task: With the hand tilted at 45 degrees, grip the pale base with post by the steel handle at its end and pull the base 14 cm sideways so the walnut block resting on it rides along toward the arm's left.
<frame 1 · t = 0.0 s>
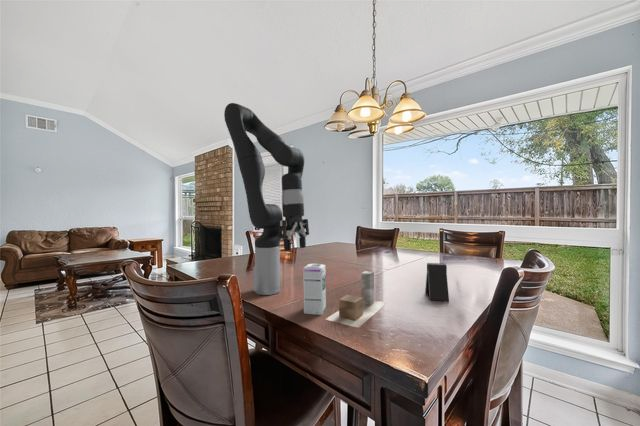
hand: (295, 249, 95), 17 cm above the table, tool pointing down, fingers open, 8 cm apart
door stopper: (436, 297, 96), on the table
syrup box: (315, 314, 81), on the table
walnut block: (351, 315, 77), point 1 cm above the table, touching pale base with post
pale base with post: (358, 295, 81), point 6 cm above the table, slide at 0.0 cm, touching walnut block
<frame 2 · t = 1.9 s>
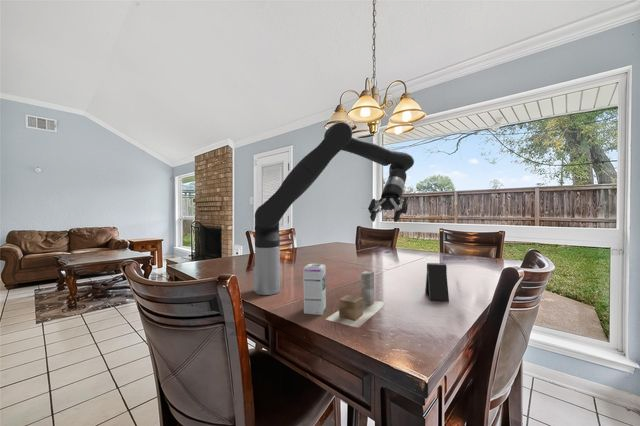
hand: (383, 220, 98), 27 cm above the table, tool tilted 45°, fingers open, 8 cm apart
nothing on the table moved.
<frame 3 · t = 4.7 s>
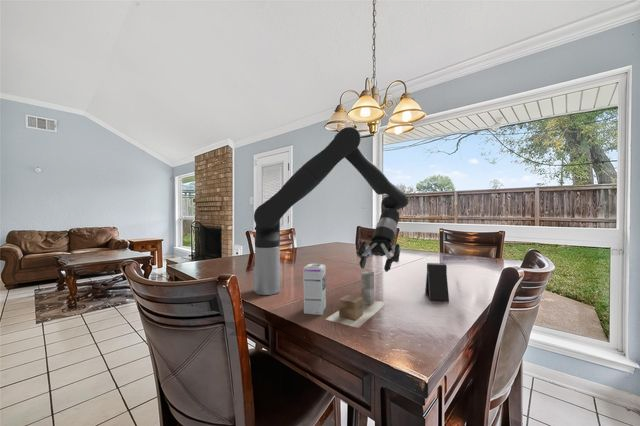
hand: (373, 268, 91), 11 cm above the table, tool tilted 45°, fingers open, 8 cm apart
nothing on the table moved.
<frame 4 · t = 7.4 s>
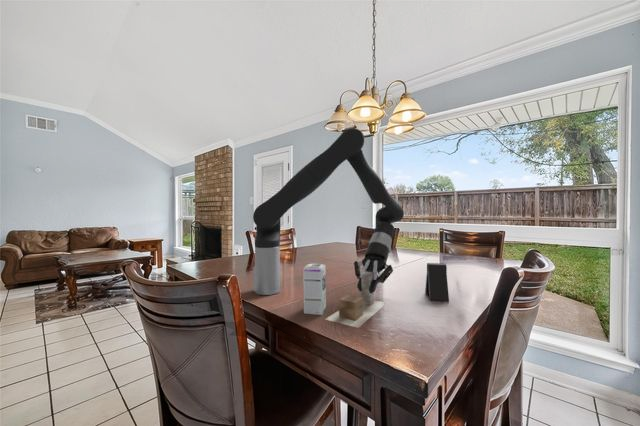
hand: (365, 291, 85), 5 cm above the table, tool tilted 45°, fingers closed on pale base with post, 3 cm apart
pale base with post: (358, 295, 81), point 6 cm above the table, slide at 0.0 cm, touching gripper, walnut block
everything else where it was.
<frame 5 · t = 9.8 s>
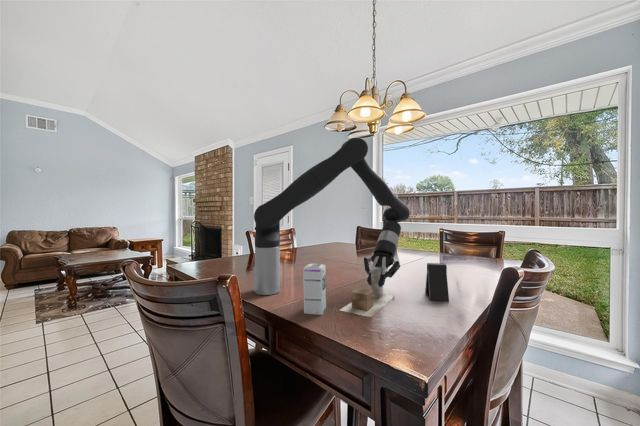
hand: (374, 284, 92), 5 cm above the table, tool tilted 45°, fingers closed on pale base with post, 3 cm apart
walnut block: (362, 307, 83), point 1 cm above the table, touching pale base with post
pale base with post: (369, 288, 88), point 6 cm above the table, slide at 8.1 cm, touching gripper, walnut block
everything else where it was.
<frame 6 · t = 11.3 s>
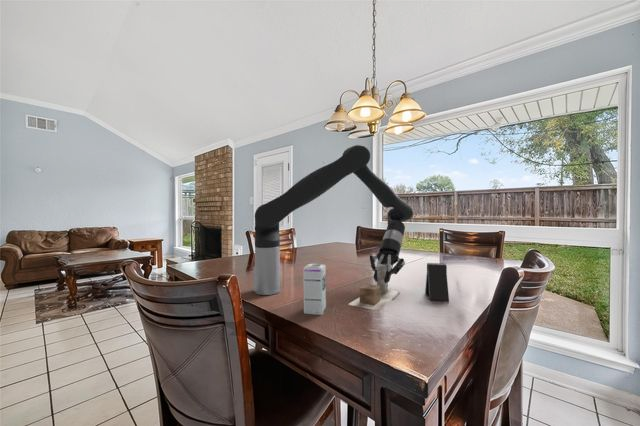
hand: (380, 281, 97), 5 cm above the table, tool tilted 45°, fingers closed on pale base with post, 3 cm apart
walnut block: (369, 301, 88), point 1 cm above the table, touching pale base with post
pale base with post: (375, 284, 93), point 6 cm above the table, slide at 13.9 cm, touching gripper, walnut block
everything else where it was.
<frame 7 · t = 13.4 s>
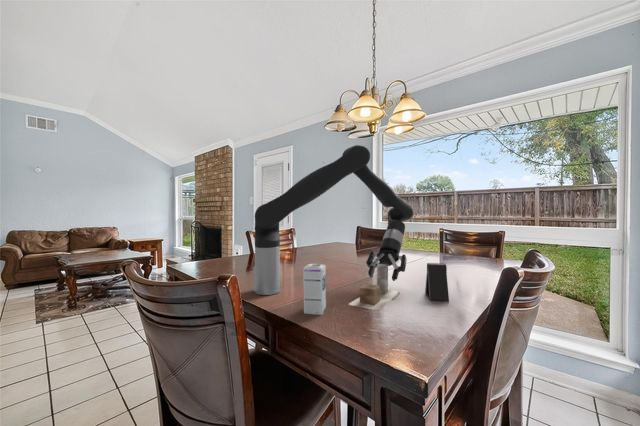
hand: (381, 278, 98), 6 cm above the table, tool tilted 45°, fingers open, 8 cm apart
pale base with post: (375, 284, 93), point 6 cm above the table, slide at 14.0 cm, touching walnut block
everything else where it was.
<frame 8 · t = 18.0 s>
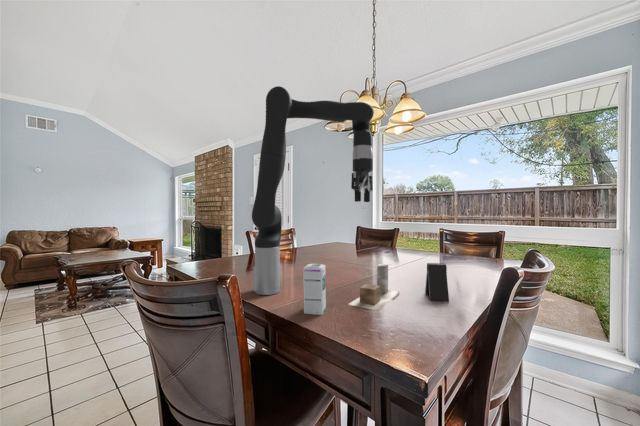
hand: (362, 201, 102), 34 cm above the table, tool pointing down, fingers open, 8 cm apart
nothing on the table moved.
at the end: pale base with post slide at 14.0 cm; walnut block inside the target area (0.0 cm from its centre), point 0.9 cm above the table; walnut block tilted 0° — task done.
